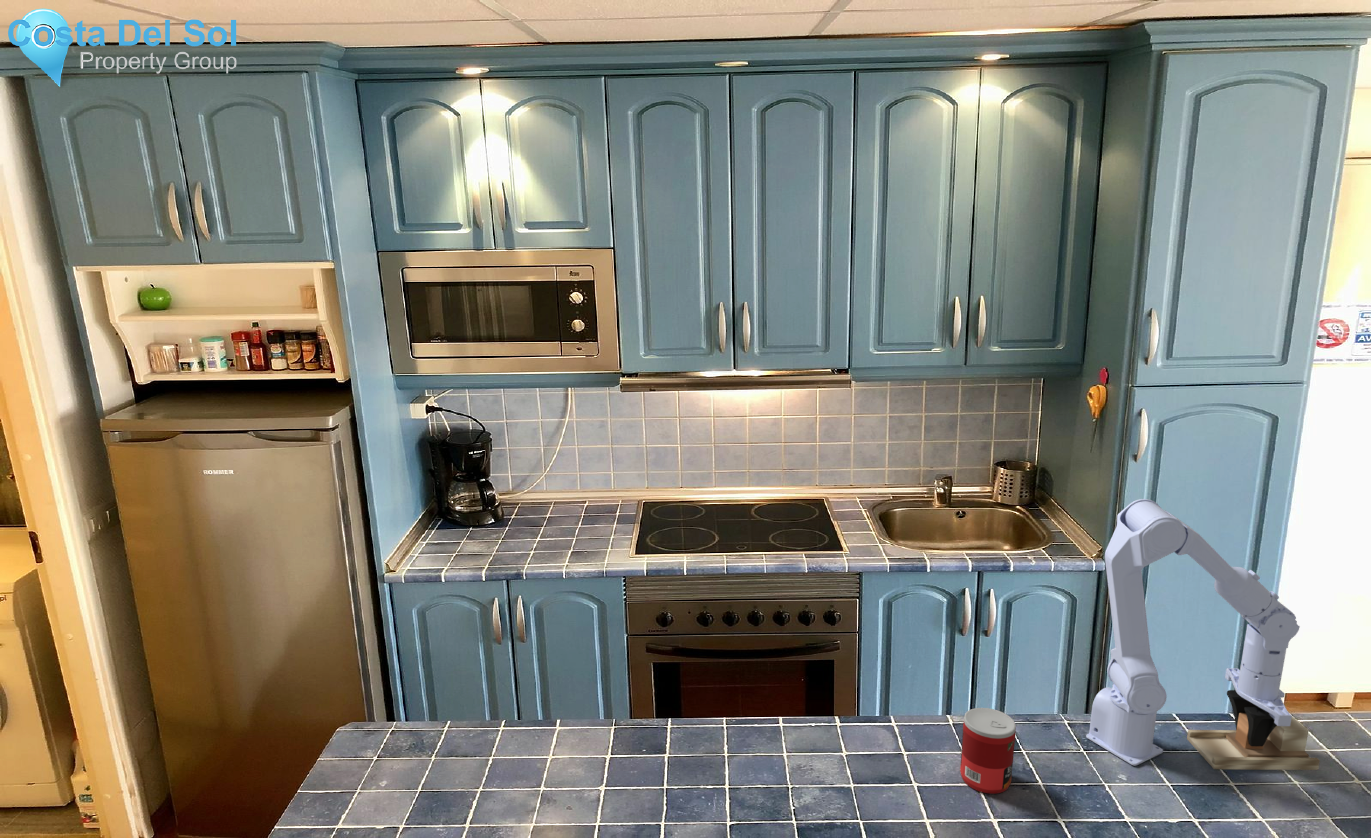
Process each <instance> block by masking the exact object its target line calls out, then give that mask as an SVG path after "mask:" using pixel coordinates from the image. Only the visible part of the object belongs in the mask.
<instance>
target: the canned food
mask: <svg viewBox="0 0 1371 838" xmlns="http://www.w3.org/2000/svg"><path fill="white" fill-rule="evenodd" d="M1016 727H1017V726H1016V722H1015V720H1014V718H1012V717H1011V716H1009V715H1008V714H1006V713H1005V712H1003V711H1000V710H997V709H995V708H994V709H993V708H989V707H976V708H975V707H974V708H972V709H971V708H970V709H969V710H968V711H966V712H965V713H964V717H963V724H962V735H961V736H962V739H961V753H960V754H961V755H960V767H959V772H960V776H961V779H962V780H963V782H964V783H965V784H966V785H967V786H969V787H970V788H971V789H973V790H976V791H977V792H981V793H984V794H989V795H990V794H992V795H995V794H1001V793H1004V792H1006V791H1008V789H1009V787H1010V785H1011V783H1012V777H1013V766H1014V765H1013V763H1014V756H1015V754H1014V753H1015V745H1016V732H1017V728H1016Z"/></svg>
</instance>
